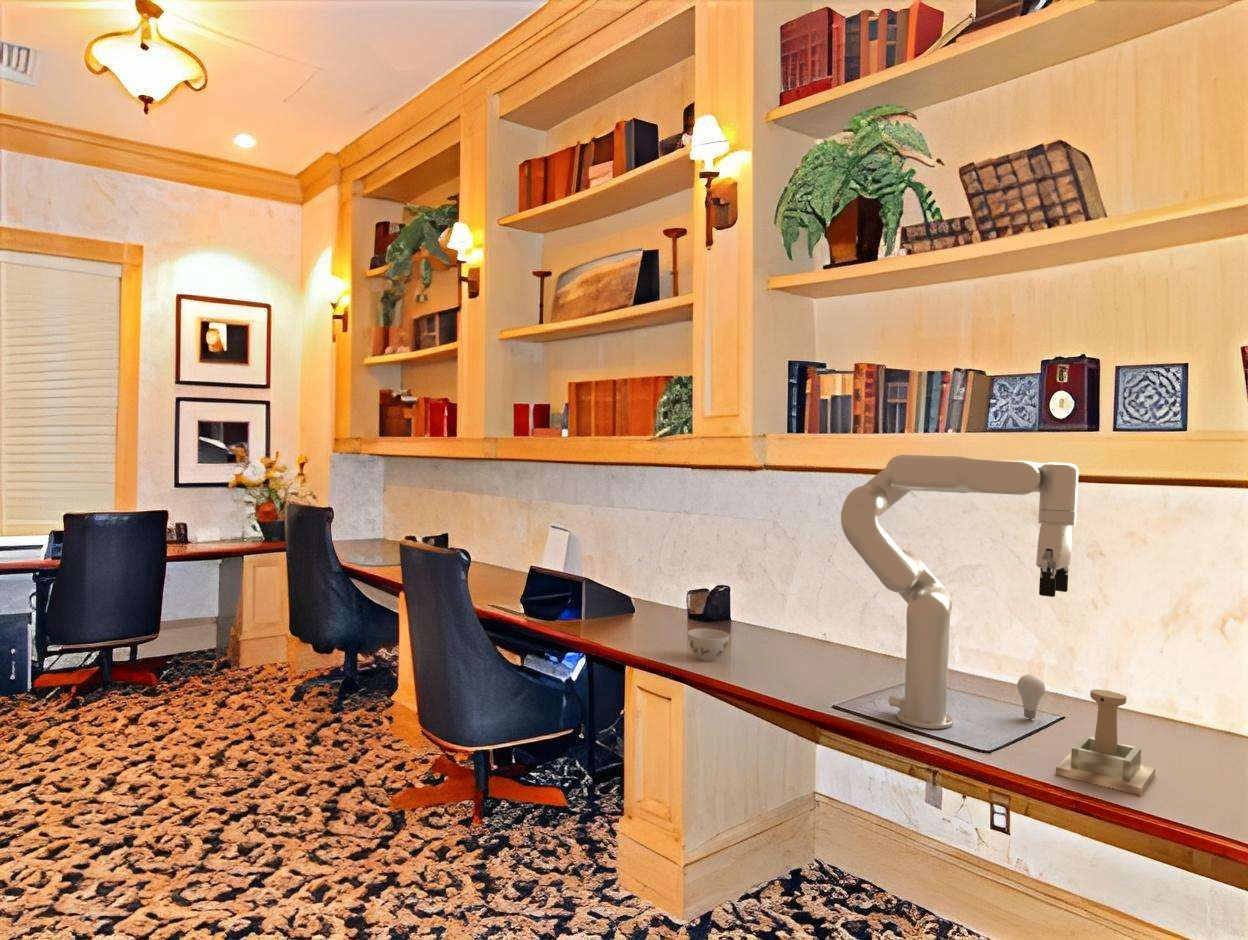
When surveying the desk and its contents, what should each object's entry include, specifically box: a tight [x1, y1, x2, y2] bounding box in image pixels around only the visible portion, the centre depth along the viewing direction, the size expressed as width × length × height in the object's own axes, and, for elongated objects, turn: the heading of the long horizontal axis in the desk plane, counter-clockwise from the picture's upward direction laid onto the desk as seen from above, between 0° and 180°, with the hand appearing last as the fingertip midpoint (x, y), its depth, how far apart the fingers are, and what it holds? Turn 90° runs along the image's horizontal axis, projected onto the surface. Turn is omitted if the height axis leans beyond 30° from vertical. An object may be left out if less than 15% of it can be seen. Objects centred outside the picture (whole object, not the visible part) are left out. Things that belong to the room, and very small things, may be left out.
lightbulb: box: [1016, 673, 1046, 720], centre depth 209 cm, size 6×6×11 cm
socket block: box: [1055, 735, 1156, 796], centre depth 175 cm, size 15×14×6 cm
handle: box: [1089, 688, 1127, 756], centre depth 175 cm, size 5×6×15 cm
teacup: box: [687, 628, 730, 662], centre depth 260 cm, size 15×12×8 cm
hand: (1053, 593), depth 195 cm, fingers open, 9 cm apart
